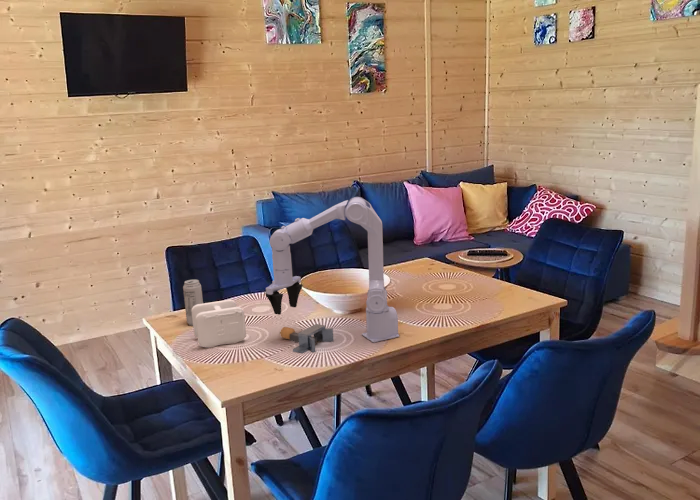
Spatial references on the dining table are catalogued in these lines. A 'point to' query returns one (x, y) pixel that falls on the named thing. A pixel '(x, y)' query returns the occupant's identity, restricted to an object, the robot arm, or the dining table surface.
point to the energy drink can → (192, 297)
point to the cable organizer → (218, 323)
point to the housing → (309, 342)
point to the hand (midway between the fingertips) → (285, 310)
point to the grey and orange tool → (291, 334)
